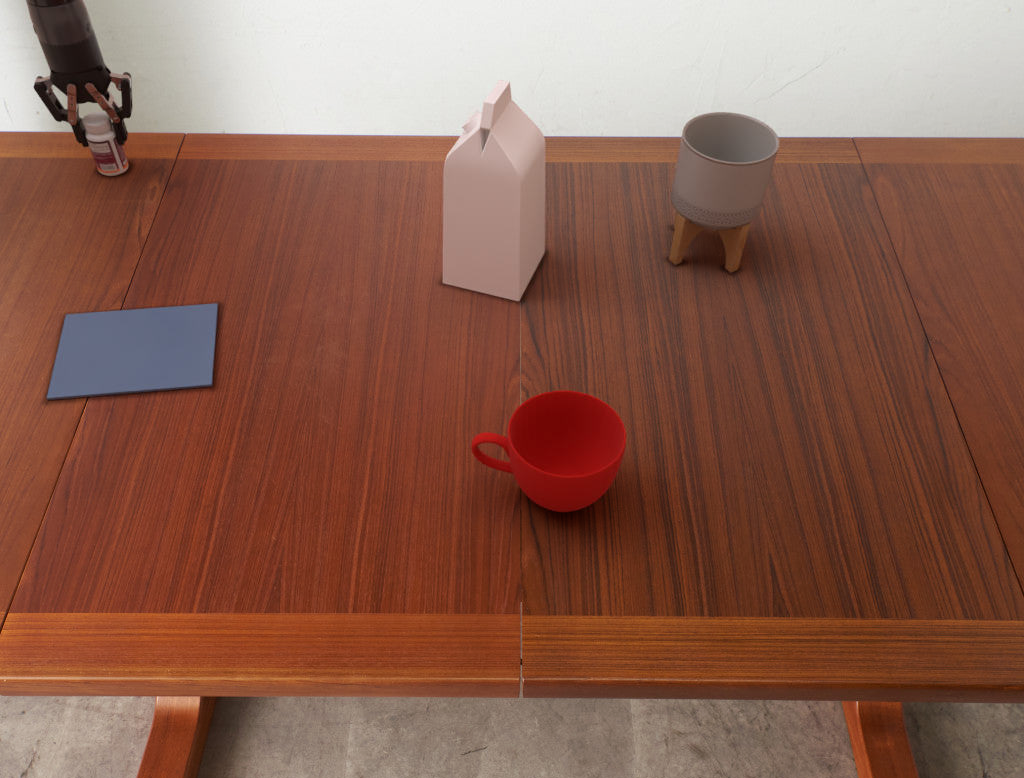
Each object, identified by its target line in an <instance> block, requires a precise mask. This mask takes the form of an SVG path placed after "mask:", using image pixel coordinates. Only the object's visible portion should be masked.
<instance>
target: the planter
mask: <svg viewBox="0 0 1024 778" xmlns="http://www.w3.org/2000/svg"><path fill="white" fill-rule="evenodd" d="M779 146H780V138H779V136H778V134H777V133H776V131H775V130H774V129H773V127H770V126H769V124H767V123H766V122H763V121H761V120H759V119H757V118H755V117H752V116H749V115H745V114H742V113H736V112H731V111H729V112H728V111H714V112H708V113H703V114H699V115H697V116H694V117H692V118H691V119H689V120H688V121H687V122H686V123H685V125H684V126H683V128H682V133H681V138H680V142H679V150H678V154H677V159H676V165H675V169H674V175H673V180H672V185H671V191H670V203H671V205H672V207H673V208H674V210H675V214H674V215H675V216H674V221H673V226H672V228H673V230H674V232H673V237H672V241H671V247H670V252H669V258H668V261H669V262H670V263H672V264H673V265H675V266H677V265H679V264H681V263H682V262H683V259H684V256H685V253H686V252H687V249H688V248H689V246H690V245H691V244H692V242H693V241H694V239H695V238H696V237H697V236H698V234H700V233H701V232H702V231H703V230H704V229H708V230H715V231H716V232H717V233H718V235H719V237H720V239H721V241H722V245H723V247H724V253H725V266H724V269H725V270H726V271H728V272H729V273H733V272H735V271H737V270H739V267H740V263H741V260H742V256H743V253H744V249H745V245H746V241H747V238H748V235H749V231H750V227H751V223H752V222H753V221H755V220H756V219H757V218H758V217H759V216H760V213H761V211H762V208H763V204H764V200H765V196H766V195H767V194H766V193H767V190H768V186H769V183H770V179H771V176H772V173H773V169H774V165H775V162H776V158H777V154H778V151H779V148H780V147H779Z"/></svg>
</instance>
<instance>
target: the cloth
mask: <svg viewBox="0 0 1024 778" xmlns="http://www.w3.org/2000/svg"><path fill="white" fill-rule="evenodd" d="M218 315H219V303H217V302H216V303H215V302H214V303H204V304H202V303H201V304H188V305H177V306H175V305H174V306H161V307H151V308H150V307H148V308H134V309H133V308H132V309H121V310H119V309H118V310H108V311H107V310H106V311H94V312H80V313H66V314H65V316H64V321H63V326H62V330H61V334H60V338H59V342H58V347H57V351H56V356H55V360H54V364H53V368H52V373H51V377H50V382H49V386H48V389H47V390H48V391H47V394H46V399H47V401H55V400H66V399H67V400H68V399H78V398H91V397H92V398H93V397H102V396H115V395H116V396H117V395H126V394H138V393H139V394H140V393H150V392H151V393H153V392H162V391H164V392H165V391H175V390H188V389H199V388H210V387H211V388H212V387H213V384H214V383H213V381H214V369H215V368H214V367H215V355H216V343H217V329H218V326H217V325H218V317H219V316H218Z"/></svg>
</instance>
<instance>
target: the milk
mask: <svg viewBox="0 0 1024 778" xmlns="http://www.w3.org/2000/svg"><path fill="white" fill-rule="evenodd" d="M461 128H462V129H463V132H462V133H461V135H460V136H459V138H458V139H457V140H456V142H455V143H454V144H453V146H452V147H451V149H450V150H449V152H448V153H447V154H446V157H445V160H444V163H443V170H442V171H443V172H442V174H443V175H442V284H445V285H448V286H453V287H456V288H460V289H465V290H470V291H473V292H478V293H482V294H485V295H490V296H495V297H498V298H503V299H507V300H511V301H515V302H520V301H521V298H522V297H523V295H524V293H525V291H526V290H527V287H528V285H529V284H530V281H531V280H532V278H533V277H534V274H535V272H536V271H537V268H538V266H539V264H540V263H541V261H542V259H543V257H544V255H545V253H546V147H547V146H546V145H547V144H546V139H545V135H544V133H543V132H542V130H541V129H540V127H538V125H537V124H536V123H535V122H534V121H533V120H532V119H531V118H530V117H529V116H528V115H527V113H525V112H524V110H523V109H522V108H521V107H520V106H519V105H518V104H517V103H516V102H515V101H514V100H512V89H511V81H506V80H501V79H499V80H498V81H497V83H496V84H495V86H494V87H493V89H492V90H491V91H490V93H489V94H488V96H486V98H485V100H484V101H483V105H482V110H481V112H480V111H479V110H476V111H475V112H474V113H473V114H472V115H471V116H469V117H468V119H466V121H465V122H464V123H463V124H462V126H461Z"/></svg>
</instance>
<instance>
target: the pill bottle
mask: <svg viewBox="0 0 1024 778" xmlns="http://www.w3.org/2000/svg"><path fill="white" fill-rule="evenodd" d="M82 120H83V124H84V127H85V129H86V132H85V136H86V139H87V142H88V145H89V147H88V148H89V150H90V152H91V155H92V157H93V160H94V163H95V166H96V168H97V171H98V172H99V173H100V174H101V175H103V176H107V177H114V176H119V175H121V174H124V173H125V172H126V171H127V170H128V169H129V162H128V158H127V155H126V153H125V149H124V147H123V145H119V143H118V140H117V137H116V134H115V131H114V128H113V125H112V120H111V118H110V117H109V116H108V114H107V113H106V112H105V111H93V112H89V113H87V114H86V115H84V116H83V117H82Z"/></svg>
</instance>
